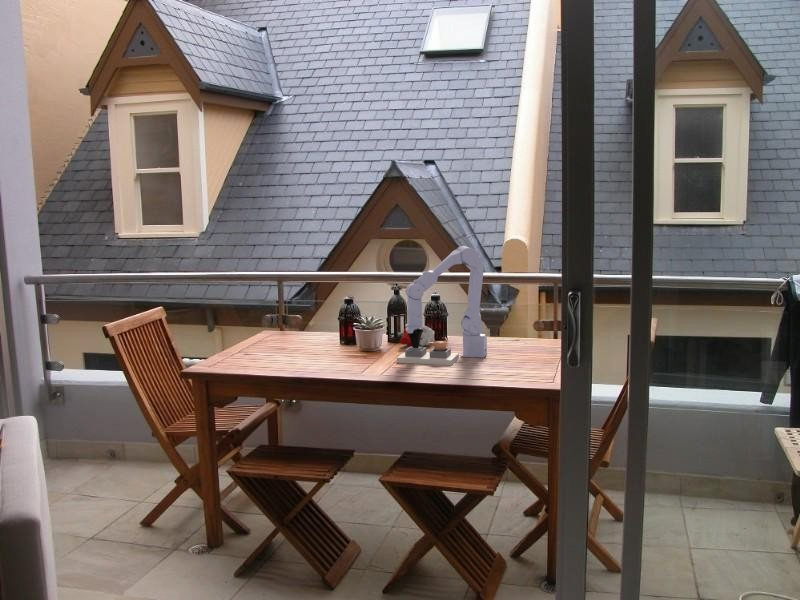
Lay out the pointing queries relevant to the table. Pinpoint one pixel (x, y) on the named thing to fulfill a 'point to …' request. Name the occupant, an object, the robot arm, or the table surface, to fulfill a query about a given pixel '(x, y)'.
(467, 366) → the table surface
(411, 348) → the grey low dome
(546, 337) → the table surface
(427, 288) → the robot arm
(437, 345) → the terracotta button
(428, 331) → the white red irregular piece
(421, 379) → the table surface
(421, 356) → the button panel
